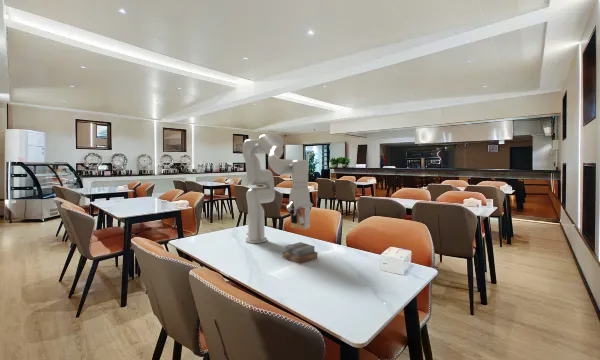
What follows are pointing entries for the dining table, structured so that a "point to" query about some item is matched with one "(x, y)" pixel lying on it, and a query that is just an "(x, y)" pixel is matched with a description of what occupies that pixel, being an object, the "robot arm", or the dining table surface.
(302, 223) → the small box
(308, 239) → the dining table surface
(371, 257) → the dining table surface
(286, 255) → the tower base
